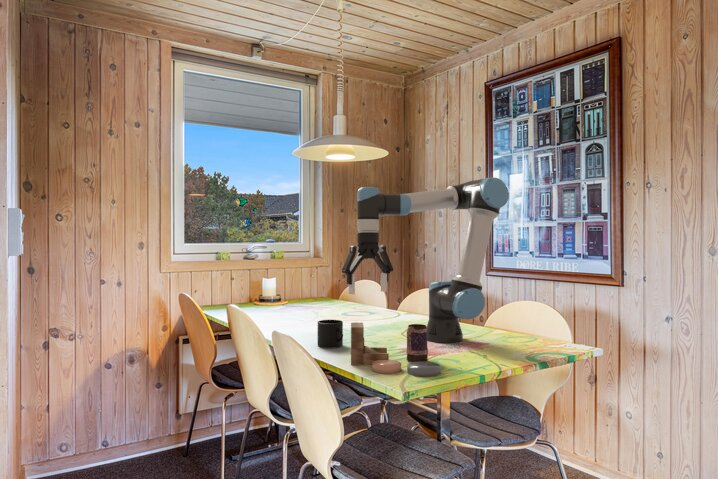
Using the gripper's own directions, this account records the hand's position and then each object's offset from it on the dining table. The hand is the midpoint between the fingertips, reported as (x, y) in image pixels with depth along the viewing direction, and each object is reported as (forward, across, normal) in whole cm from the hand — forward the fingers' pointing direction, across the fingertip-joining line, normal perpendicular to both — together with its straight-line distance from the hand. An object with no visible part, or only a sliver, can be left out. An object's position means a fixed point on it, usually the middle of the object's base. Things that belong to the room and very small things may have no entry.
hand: (368, 292), depth 174 cm
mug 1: (+22, +4, -18) cm, 28 cm away
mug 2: (+22, -7, +17) cm, 28 cm away
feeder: (+21, +6, +9) cm, 24 cm away
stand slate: (+21, -1, +28) cm, 36 cm away
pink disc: (+21, +7, +20) cm, 30 cm away
